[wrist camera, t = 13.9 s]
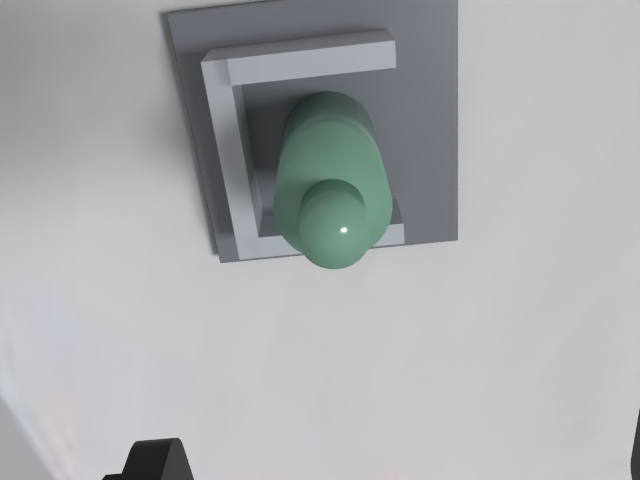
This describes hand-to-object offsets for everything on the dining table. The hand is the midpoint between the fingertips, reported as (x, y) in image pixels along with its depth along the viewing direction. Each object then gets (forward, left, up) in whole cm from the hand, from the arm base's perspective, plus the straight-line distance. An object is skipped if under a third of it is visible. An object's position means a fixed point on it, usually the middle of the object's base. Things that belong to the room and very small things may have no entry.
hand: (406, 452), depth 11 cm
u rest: (+1, +2, -24) cm, 24 cm away
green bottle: (+1, +2, -23) cm, 23 cm away
